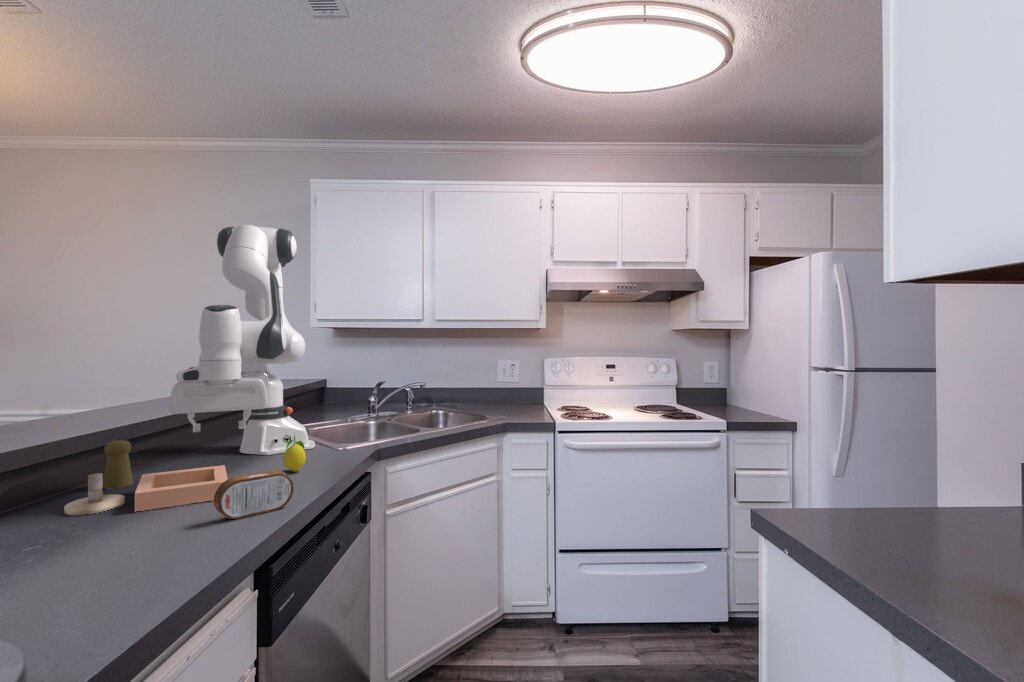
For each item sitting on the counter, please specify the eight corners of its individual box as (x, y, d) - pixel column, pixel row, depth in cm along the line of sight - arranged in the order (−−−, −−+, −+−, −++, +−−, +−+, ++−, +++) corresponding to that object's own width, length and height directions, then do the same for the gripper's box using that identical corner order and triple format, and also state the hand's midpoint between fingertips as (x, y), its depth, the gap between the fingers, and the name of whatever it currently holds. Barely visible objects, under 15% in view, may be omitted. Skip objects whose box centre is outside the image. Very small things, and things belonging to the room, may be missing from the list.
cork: (116, 490, 119) (116, 444, 119) (95, 488, 121) (95, 443, 120) (139, 483, 125) (139, 439, 125) (119, 481, 126) (119, 438, 126)
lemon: (285, 476, 132) (285, 438, 132) (278, 472, 136) (278, 435, 136) (310, 472, 136) (311, 435, 136) (303, 467, 140) (303, 432, 140)
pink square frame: (224, 480, 128) (224, 465, 128) (228, 499, 113) (228, 481, 113) (142, 491, 119) (142, 474, 119) (134, 512, 104) (134, 493, 104)
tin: (290, 503, 111) (290, 465, 111) (295, 507, 108) (295, 468, 108) (213, 520, 100) (213, 479, 100) (217, 525, 98) (217, 482, 98)
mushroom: (127, 496, 114) (127, 466, 114) (121, 509, 106) (121, 476, 106) (69, 504, 109) (69, 472, 109) (59, 518, 101) (59, 484, 101)
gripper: (267, 370, 128) (266, 424, 128) (170, 372, 117) (169, 431, 117) (270, 371, 122) (269, 428, 122) (168, 374, 112) (168, 436, 111)
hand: (219, 430), depth 119 cm, fingers open, 8 cm apart
